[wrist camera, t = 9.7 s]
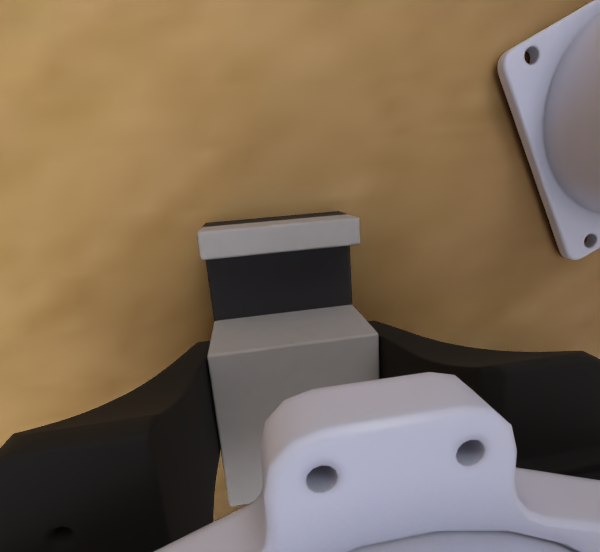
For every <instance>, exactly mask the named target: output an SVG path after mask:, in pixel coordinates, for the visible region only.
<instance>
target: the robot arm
mask: <svg viewBox="0 0 600 552" xmlns="http://www.w3.org/2000/svg"><path fill="white" fill-rule="evenodd" d="M525 51H527V52H528V53H529V55H530V62H529V64H528V63H526V61H525V58H524V54H525ZM497 70H498V75H499V78H500V81H501V84H502V86H503V89H504V92H505V95H506V98H507V101H508V104H509V107H510V110H511V112H512V115H513V118H514V121H515V124H516V127H517V130H518V133H519V136H520V139H521V141H522V144H523V147H524V150H525V153H526V156H527V159H528V162H529V165H530V167H531V170H532V173H533V176H534V179H535V182H536V185H537V188H538V191H539V194H540V196H541V199H542V202H543V205H544V208H545V211H546V214H547V217H548V220H549V222H550V225H551V228H552V231H553V234H554V237H555V240H556V243H557V246H558V248H559V251H560V254H561V255H562V256H563V257H564V258H566V259H571V260H579V259H581V258H583V257H585V256H586V255H588V254H590V253H592V252H593V251H595V250H597V249H598V248H600V0H593V1H592V2H590V3H588V4H586V5H585V6H583V7H581V8H580V9H578V10H576V11H574V12H573V13H571V14H569V15H568V16H566V17H564V18H562V19H561V20H559V21H557V22H556V23H554V24H552V25H550V26H549V27H547V28H545V29H544V30H542V31H540V32H538V33H537V34H535V35H533V36H532V37H530V38H528V39H526V40H525V41H523V42H521V43H520V44H518V45H516V46H514V47H513V48H511V49H509V50H508V51H506V52H505V53H504V54H503V55H501V57H500V59H499V61H498V66H497ZM586 236H587V241H586V243H585V244H584V240H585V237H586ZM367 322H368V323H369V324H370V325H371V326H372V327H373V328H374V329H375V331H376V332H377V333H378V335H379V376H380V379H377V380H370V381H364V382H357V383H350V384H343V385H336V386H329V387H323V388H316V389H311V390H308V391H306V392H303V393H300V394H298V395H295V396H293V397H290V398H288V399H285V400H284V401H283V402H282V403H281V404H280V405H279V406H278V407H277V408H276V410H275V411H274V412H273V413H272V414H271V415H270V416H269V418H268V419H267V420H266V421H265V425H264V430H263V435H262V441H261V446H260V449H261V464H262V479H263V487H262V490H261V493H260V495H259V496H258V497H257V498H256V499H255V501H254V502H252V503H250V504H248V505H246V506H244V507H242V508H240V509H238V510H236V511H234V512H232V513H230V514H228V515H226V516H224V517H222V518H220V519H218V520H216V521H214V522H213V509H214V491H215V482H216V475H217V468H218V462H219V456H220V449H221V448H220V441H219V434H218V427H217V421H216V414H215V407H214V400H213V394H212V387H211V380H210V373H209V367H208V360H207V355H208V351H209V346H210V341H205V342H198V343H197V344H195V345H194V346H193V347H191V348H190V349H189V350H188V351H187V352H186V353H184V354H183V355H182V356H181V357H180V358H179V359H177V360H176V361H175V362H174V363H173V364H171V365H170V366H169V367H167V368H166V369H165V370H163V371H162V372H161V373H159V374H158V375H157V376H155V377H154V378H152V379H151V380H149V381H148V382H146V383H145V384H143V385H142V386H140V387H138V388H136V389H135V390H133V391H131V392H129V393H127V394H126V395H124V396H121V397H119V398H117V399H115V400H113V401H111V402H109V403H107V404H104V405H102V406H100V407H98V408H95V409H93V410H90V411H88V412H85V413H82V414H80V415H77V416H74V417H71V418H68V419H65V420H62V421H59V422H56V423H52V424H49V425H45V426H41V427H38V428H34V429H30V430H27V431H23V432H19V433H15V434H13V435H12V436H11V437H10V438H9V439H8V440H7V441H6V443H5V444H4V445H3V446H2V447H1V448H0V552H600V359H598V358H596V357H594V356H592V355H590V354H588V353H586V352H584V351H560V352H511V351H496V350H487V349H478V348H471V347H464V346H459V345H454V344H449V343H445V342H440V341H436V340H433V339H429V338H426V337H422V336H419V335H416V334H413V333H410V332H407V331H404V330H401V329H398V328H395V327H392V326H389V325H386V324H383V323H380V322H376V321H367Z"/></svg>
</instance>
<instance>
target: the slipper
mask: <svg viewBox="0 0 600 552" xmlns="http://www.w3.org/2000/svg"><path fill="white" fill-rule="evenodd" d="M197 239H198V246H199V253H200V258H201V260H206V265H207V272H208V280H209V287H210V294H211V301H212V308H213V316H214V326H213V331H212V336H211V341H210V346H209V351H208V355H207V360H208V367H209V373H210V380H211V387H212V394H213V400H214V407H215V414H216V421H217V427H218V434H219V441H220V448H221V454H222V461H223V468H224V475H225V481H226V488H227V495H228V502H229V505H230V506H231V507H232V506H238V505H243V504H249V503H252V502H254V501H255V499H256V498H257V497H258V496H259V495H260V493H261V490H262V487H263V479H262V464H261V449H260V446H261V441H262V435H263V430H264V425H265V421H266V420H267V419H268V418H269V416H270V415H271V414H272V413H273V412H274V411H275V410H276V408H277V407H278V406H279V405H280V404H281V403H282V402H283V401H284V400H285V399H288V398H290V397H293V396H295V395H298V394H300V393H303V392H306V391H308V390H311V389H316V388H323V387H329V386H336V385H343V384H350V383H357V382H364V381H370V380H377V379H380V376H379V335H378V333H377V332H376V331H375V329H374V328H373V327H372V326H371V325H370V324H369V323H368V322H367V321H366V319H365V318H364V317H363V316H362V315H361V314H360V313H359V312H358V310H357V309H356V308H355V307H354V306H353V305H352V291H351V267H350V245H358V244H360V219H359V218H358V217H355V216H352V215H348V214H345V213H342V212H338V211H337V212H325V213H314V214H303V215H291V216H280V217H269V218H258V219H246V220H235V221H224V222H212V223H206V224H205V225H204V226H203V227H202V228H201V229H200V230H199V231H198V232H197Z"/></svg>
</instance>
